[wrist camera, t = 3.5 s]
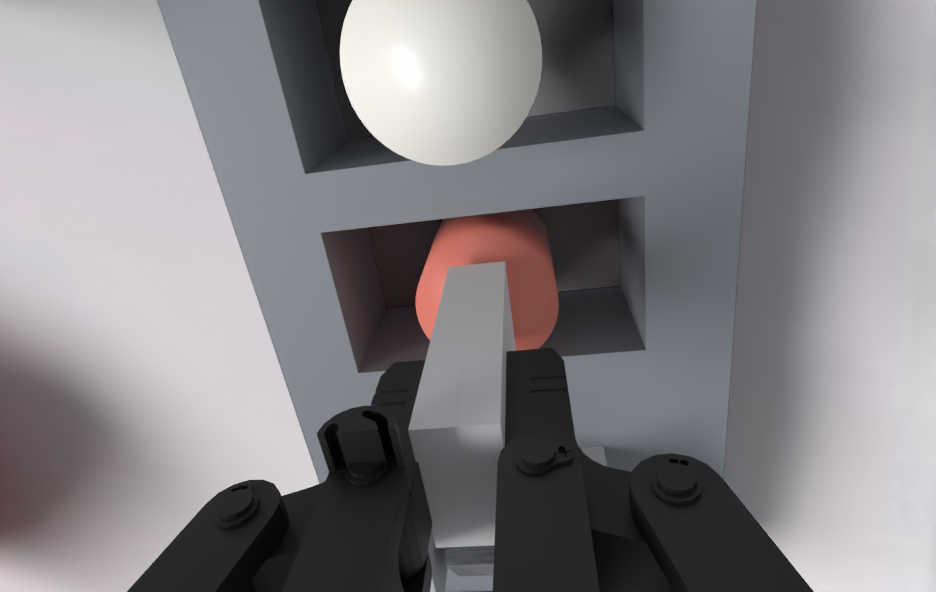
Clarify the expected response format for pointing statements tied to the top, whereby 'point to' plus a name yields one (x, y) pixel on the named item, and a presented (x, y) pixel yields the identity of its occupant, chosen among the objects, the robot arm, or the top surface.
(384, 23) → the button ivory
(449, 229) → the button red
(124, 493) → the top surface
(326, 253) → the panel
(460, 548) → the toggle lever
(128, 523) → the top surface
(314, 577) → the robot arm
